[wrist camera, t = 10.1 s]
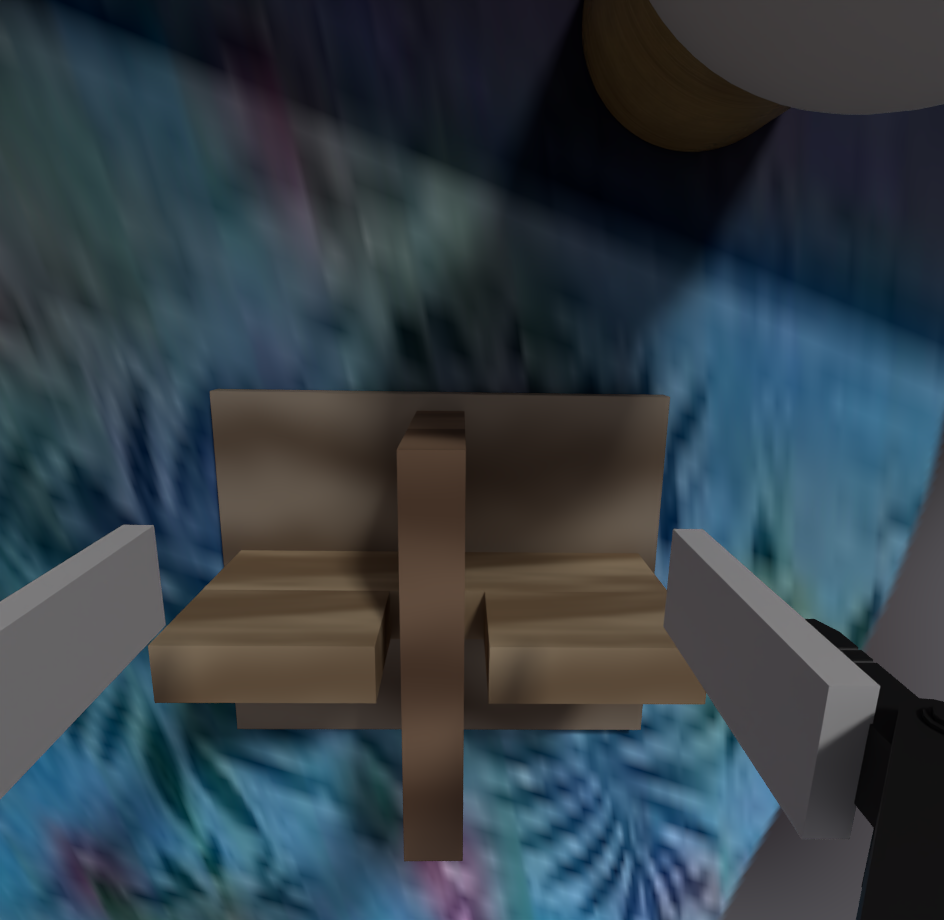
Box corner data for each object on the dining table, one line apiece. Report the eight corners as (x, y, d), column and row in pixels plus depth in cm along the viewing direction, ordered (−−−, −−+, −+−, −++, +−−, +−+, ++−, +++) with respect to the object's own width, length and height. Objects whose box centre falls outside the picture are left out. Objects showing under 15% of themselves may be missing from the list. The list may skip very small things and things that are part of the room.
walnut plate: (416, 410, 31) (396, 450, 22) (464, 411, 31) (465, 450, 22) (420, 712, 35) (404, 861, 26) (462, 712, 35) (462, 860, 26)
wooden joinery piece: (217, 388, 32) (93, 421, 21) (663, 394, 32) (763, 429, 22) (243, 718, 36) (152, 883, 26) (635, 718, 37) (707, 881, 26)
